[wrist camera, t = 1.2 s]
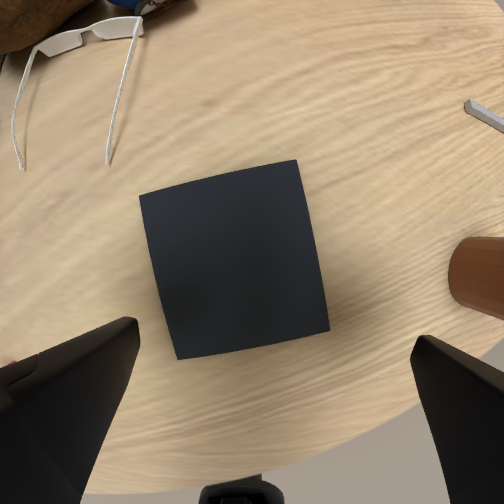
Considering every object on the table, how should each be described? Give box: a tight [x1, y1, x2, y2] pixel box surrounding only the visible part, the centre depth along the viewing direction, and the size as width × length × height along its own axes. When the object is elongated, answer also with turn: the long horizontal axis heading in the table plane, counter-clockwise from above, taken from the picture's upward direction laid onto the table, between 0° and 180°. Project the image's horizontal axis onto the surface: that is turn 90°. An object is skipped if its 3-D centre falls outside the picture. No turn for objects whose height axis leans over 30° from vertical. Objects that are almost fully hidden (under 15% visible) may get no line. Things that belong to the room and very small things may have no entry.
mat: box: [139, 160, 330, 360], centre depth 21 cm, size 13×12×1 cm
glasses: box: [12, 16, 144, 171], centre depth 19 cm, size 13×14×3 cm
